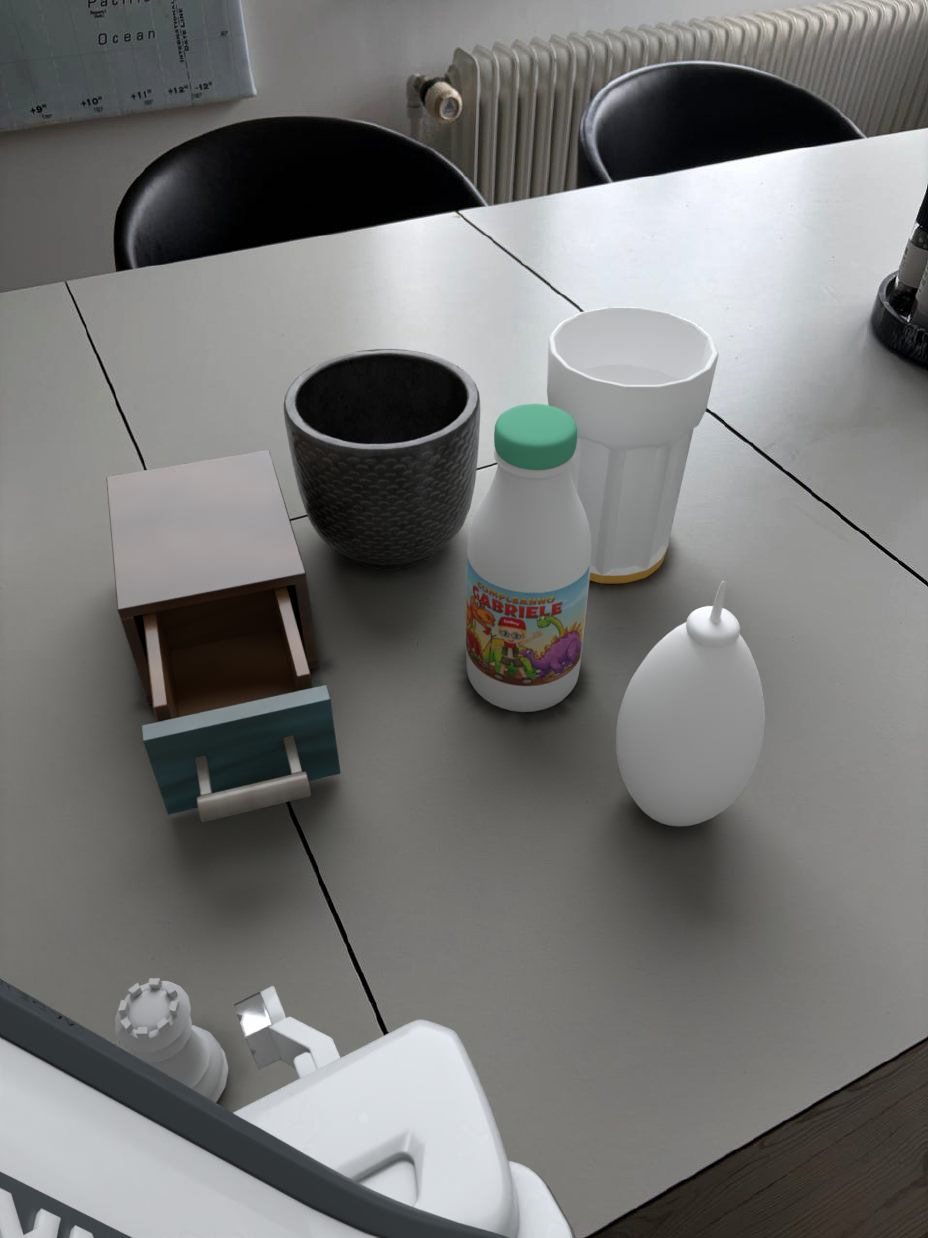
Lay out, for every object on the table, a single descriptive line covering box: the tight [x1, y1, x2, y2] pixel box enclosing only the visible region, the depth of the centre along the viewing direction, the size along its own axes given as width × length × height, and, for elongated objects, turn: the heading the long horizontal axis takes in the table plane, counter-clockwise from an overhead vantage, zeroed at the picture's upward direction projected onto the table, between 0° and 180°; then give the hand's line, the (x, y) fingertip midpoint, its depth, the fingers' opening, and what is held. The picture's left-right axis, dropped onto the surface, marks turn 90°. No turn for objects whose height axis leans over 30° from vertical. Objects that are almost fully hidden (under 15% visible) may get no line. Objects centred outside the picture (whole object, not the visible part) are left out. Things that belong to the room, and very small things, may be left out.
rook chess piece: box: [114, 977, 229, 1103], centre depth 46 cm, size 4×4×8 cm
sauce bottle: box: [615, 580, 766, 827], centre depth 55 cm, size 8×8×18 cm
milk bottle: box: [465, 403, 591, 713], centre depth 62 cm, size 8×8×20 cm
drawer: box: [140, 586, 342, 823], centre depth 61 cm, size 18×10×7 cm, turn 17°
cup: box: [546, 306, 719, 584], centre depth 73 cm, size 11×11×17 cm
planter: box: [283, 348, 481, 571], centre depth 75 cm, size 14×14×13 cm
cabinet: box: [105, 449, 320, 705], centre depth 70 cm, size 15×12×9 cm
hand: (124, 1069), depth 34 cm, fingers open, 8 cm apart
